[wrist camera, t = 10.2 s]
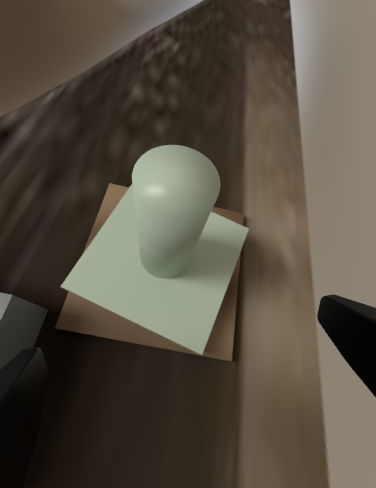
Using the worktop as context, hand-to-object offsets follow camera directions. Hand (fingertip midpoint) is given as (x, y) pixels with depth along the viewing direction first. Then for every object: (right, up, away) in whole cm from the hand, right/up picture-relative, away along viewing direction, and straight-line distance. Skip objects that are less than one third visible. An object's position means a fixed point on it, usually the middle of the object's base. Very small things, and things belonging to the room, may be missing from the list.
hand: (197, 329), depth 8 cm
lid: (-2, +1, +10) cm, 10 cm away
